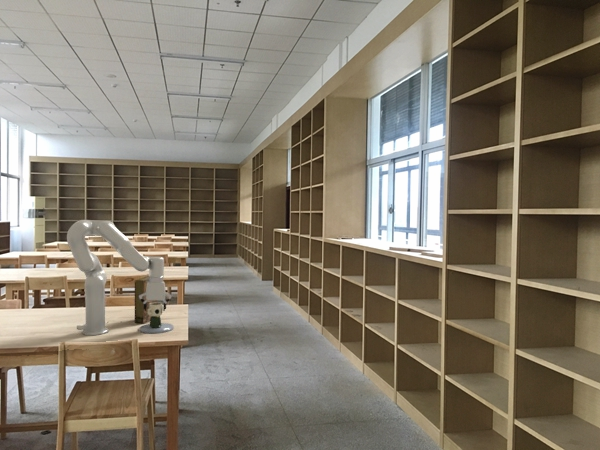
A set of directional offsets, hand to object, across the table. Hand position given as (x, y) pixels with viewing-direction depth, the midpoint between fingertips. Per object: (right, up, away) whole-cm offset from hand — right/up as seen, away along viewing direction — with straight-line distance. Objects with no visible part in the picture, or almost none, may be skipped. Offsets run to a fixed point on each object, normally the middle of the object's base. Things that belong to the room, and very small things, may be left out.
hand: (154, 310), depth 259 cm
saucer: (+1, -10, +1) cm, 10 cm away
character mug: (0, -9, 0) cm, 9 cm away
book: (-11, -9, +19) cm, 24 cm away
